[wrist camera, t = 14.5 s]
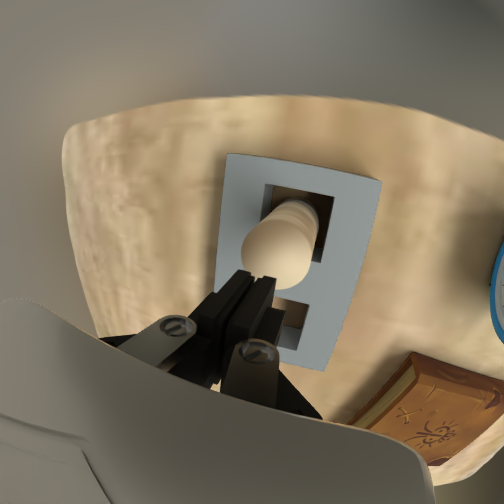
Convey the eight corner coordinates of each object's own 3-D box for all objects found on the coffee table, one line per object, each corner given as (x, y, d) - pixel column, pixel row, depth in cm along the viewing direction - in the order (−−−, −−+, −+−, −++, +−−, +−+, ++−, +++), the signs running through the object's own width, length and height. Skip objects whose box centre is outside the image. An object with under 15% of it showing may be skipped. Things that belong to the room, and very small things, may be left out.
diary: (504, 378, 24) (515, 401, 19) (436, 443, 32) (439, 466, 27) (412, 347, 27) (421, 379, 22) (340, 427, 35) (338, 455, 30)
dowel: (326, 228, 26) (321, 281, 15) (286, 240, 27) (255, 297, 16) (312, 188, 25) (297, 210, 14) (272, 202, 26) (228, 234, 16)
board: (326, 349, 30) (324, 371, 27) (223, 323, 33) (210, 341, 29) (374, 178, 23) (382, 181, 19) (241, 153, 26) (227, 153, 22)
